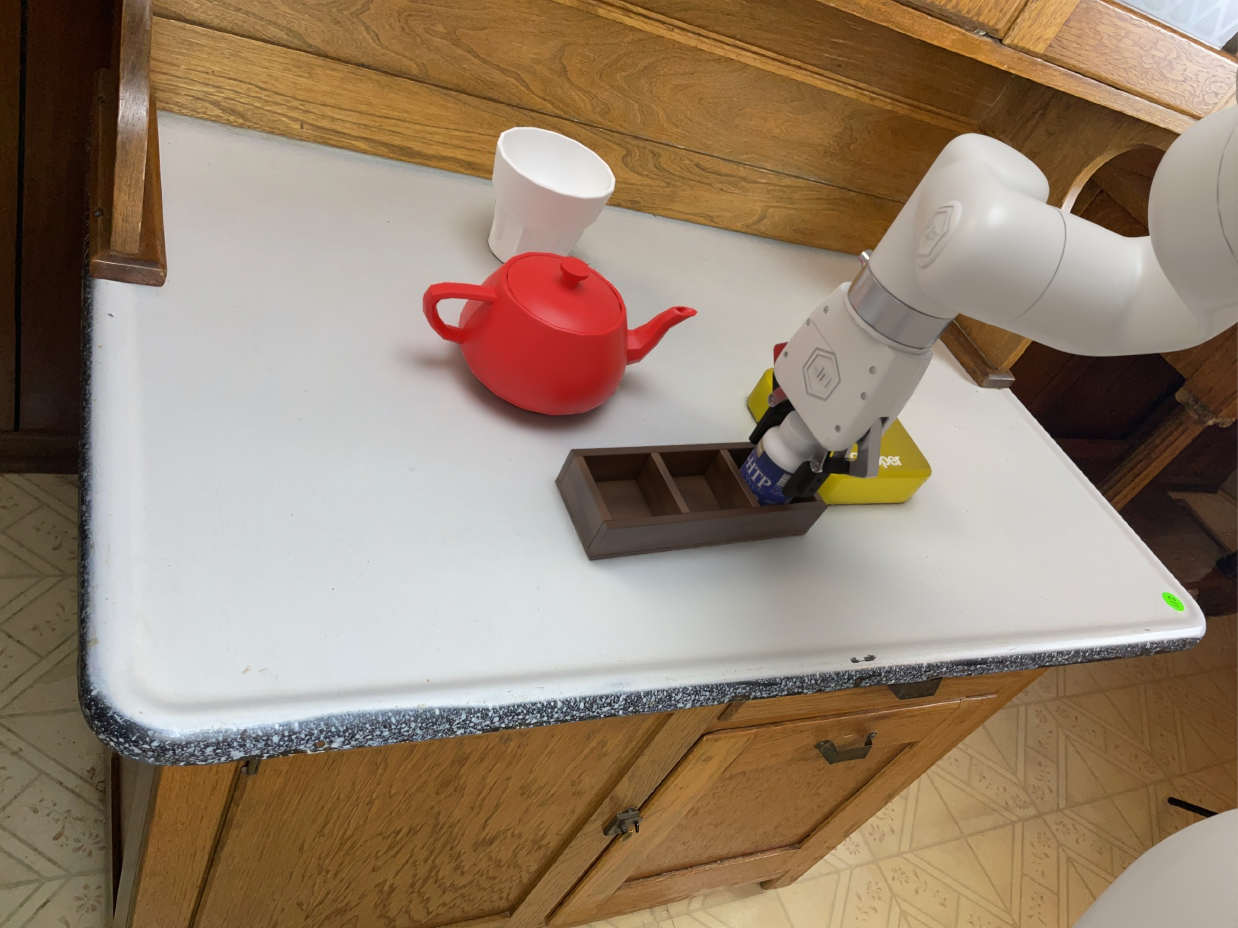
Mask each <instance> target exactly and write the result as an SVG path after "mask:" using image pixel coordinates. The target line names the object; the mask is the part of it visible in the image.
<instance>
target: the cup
mask: <svg viewBox="0 0 1238 928" xmlns="http://www.w3.org/2000/svg"><path fill="white" fill-rule="evenodd" d="M493 162H494V163H493V171H492V177H491V182H492V186H493V188H494V193H495V205H494V213H493V221H492V225H491V229H490V232H489V235H488V239H487V242H488V247H489V249H490V251H491V252H492V254H494V255H495V257H496V258H497V259H498V260H499V261H500V262H501V263H503V264H504V263H505V262H506V261H508V260H509V259H510V258H511V257H513V256H517V255H520V254H523V253H527V252H545V253H554V254H557V255H561V256H564V257H569V256H570V254H571V252H572V251H573V250H574V247H575V246H576V245H577V243H578V242H579V240H580V239H581V237H582V236H583V234H584V232H585V231H586V230H587V229H588V228H589V227H590V226H592V225H593V224H594V223H596V221H597V220H598V218H599V216H600V215H601V213H602V211H603V210H604V208H605V207H606V205H607V204H608V201H609V200H610V198H611V196H612V195H613V193H614V191H615V186H616V177H615V175H614V173H613V171H612V169H611V167H610V165H609V164H608V163H606V161H604V160H603V159H602V158H601V157H600V156H599V155H598V154H597V153H596V152H594V151H593V150H592V149H590V148H588V147H586V146H585V145H583V144H582V143H581V142H579V141H577V140H575V139H573V138H570V137H567V136H566V135H563V134H561V133H558V132H555V131H552V130H549V129H548V130H547V129H543V128H539V127H534V126H515V127H511V128H510V129H507V130H505V131H502V132H501V133H500V136H499V138H498V139H497V142H496V149H495V155H494V161H493Z"/></svg>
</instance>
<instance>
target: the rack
mask: <svg viewBox="0 0 1238 928" xmlns="http://www.w3.org/2000/svg"><path fill="white" fill-rule="evenodd" d="M756 446H757V445H754V444H751V442H750V441H734V442H733V441H731V442H709V443H684V444H664V445H662V444H661V445H639V446H638V445H637V446H636V445H635V446H614V447H592V448H590V447H589V448H571V449H570V450H569V452H568V454H567V456H566V458H565V460H564V462H563V464H562V466H561V468H560V470H559V473H558V474H557V477H556V478H555V480H554V481H555V482H554V483H555V484H556V487H557V489H558V492H559V493H560V496H561V498H562V500H563V503H564V505H565V508H566V510H567V513H568V514H569V516H570V519H571V521H572V523H573V526H574V528H575V531H576V533H577V535H578V537H579V540H580V542H581V544H582V547H583V548H584V549H583V550H584V551H585V554H586V556H587V558H588V560H589V561H594V560H603V559H610V558H619V557H628V556H636V555H643V554H653V553H661V552H670V551H678V550H688V549H695V548H703V547H712V546H720V545H727V544H737V543H743V542H752V541H761V540H770V539H778V538H786V537H793V536H794V537H796V536H802V535H806V534H808V531H809V530H810V529H811V528H812V527H814V524H815V523H816V522H817V521H818V520H819V519H820V518H821V516H822V515H823V514H824V513H825V512H826V510H827V509H828V508H829V506H828V504H826V503H825V502H824V501H823V499H822V497H821V496H820V494H819V493H818V491H817V492H816V493H815V494H813V495H812V496H809V497H802V496H799V497H793V498H792V499H791V501H790V502H789V503H788V504H783V505H773V506H762V507H760V504H759V503H758V501H757V499H756V498H755V496H754V494H753V493H752V491H751V489H750V488H749V486H748V484H747V483H746V481H745V479H744V477H743V476H742V474H741V472H740V471H739V470H740V468H741V467H742V465H743V464H744V463H745V461H746V460H747V458H748V457H749V456H750V454H751V453H752V451H753V450H754V449H755V447H756Z"/></svg>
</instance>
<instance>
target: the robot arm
mask: <svg viewBox="0 0 1238 928" xmlns="http://www.w3.org/2000/svg"><path fill="white" fill-rule="evenodd" d="M1235 101H1236V104H1233V105H1232V106H1228V107H1225V108H1223V109H1220V110H1217V111H1214V112H1212V113H1209V114H1208V115H1206V116H1204V117H1202V118H1201V119H1199V120H1196V122H1194V123H1192V124H1191V125H1190V126H1188V127H1187V129H1185V130H1184V131H1183V132H1182V133H1181V134H1180V135H1179V136H1178V137H1177V138H1176V139H1175V140H1174V141H1173V142H1172V143H1171V144H1170V146H1169V147H1168V149H1167V150H1166V151H1165V153H1164V154H1163V156H1162V158H1161V161H1160V162H1159V164H1158V166H1157V168H1156V170H1155V174H1154V175H1153V179H1152V181H1151V185H1150V191H1149V197H1148V206H1147V220H1148V221H1147V225H1148V233H1149V235H1147V236H1138V237H1135V236H1134V237H1128V236H1124V235H1121V234H1119V233H1116V232H1114V231H1111V230H1110V229H1107V228H1105V227H1103V226H1101V225H1099V224H1097V223H1094V222H1092V221H1090V220H1087V219H1085V218H1082V217H1080V216H1078V215H1076V214H1074V213H1071V212H1068V211H1066V210H1064V209H1061V208H1059V207H1056V206H1054V205H1051V204H1047V202H1048V198H1049V195H1050V186H1049V182H1048V179H1047V176H1045V174H1044V173H1043V172H1042V171H1041V168H1039V167H1038V165H1036V164H1035V163H1034V162H1033V161H1032V160H1030V159H1029V158H1028V157H1027V156H1025V154H1023V153H1021V152H1020V151H1018V150H1017V149H1015V148H1013V147H1012V146H1010V145H1008V144H1006V143H1005V142H1003V141H1000V140H999V139H996V138H994V137H991V136H989V135H984V134H980V133H975V132H969V133H963V134H961V135H958V136H956V137H955V138H953V139H952V140H950V141H949V142H948V143H947V145H945V146H944V148H943V149H942V151H941V152H939V154H938V156H937V157H936V158H935V160H934V162H933V163H932V165H931V166H930V168H929V169H928V171H927V172H926V173H925V174H924V176H923V178H922V179H921V181H920V182H919V184H918V185H917V186H916V188H915V189H914V191H913V192H912V194H911V195H910V197H909V198H908V200H907V201H906V203H905V204H904V206H903V207H902V208H901V210H900V211H899V213H898V214H897V216H896V217H895V219H894V220H893V221H892V223H891V225H890V226H889V228H888V229H887V231H886V232H885V233H884V235H883V236H882V238H881V240H880V241H879V242H878V243H877V245H876V247H875V248H874V250H872V249H865V250H863V251H862V252H861V253H860V254H859V256H858V257H857V263H858V264H859V266H860V271H858V273H857V275H856V276H855V277H854V279H853V281H843V282H842V283H840V284H839V285H838V286H837V287H836V288H835V289H833V290H832V292H831V293H829V294H828V295H827V296H826V297H825V298H824V299H823V300H822V301H821V302H820V303H819V304H818V305H817V306H816V307H815V308H814V309H813V311H812V312H811V313H810V314H809V315H808V316H807V317H806V318H805V320H804V321H803V322H802V324H801V325H800V326H799V327H798V328H797V330H796V331H795V332H794V334H793V336H791V338H790V339H789V341H785V342H779V343H776V344H774V346H773V347H772V353H773V354H772V355H773V368H774V371H773V375H772V393H771V394H769V396H768V399H767V401H768V405H769V408H768V409H767V410H766V412H765V413H764V415H763V416H762V418H761V419H760V421H759V422H758V423H756V426H755V428H754V429H753V430H752V432H751V433H750V435H749V436H748V440H749V442H751V444H754V445H757V444H758V443H759V441H760V440H761V439H762V437H763V436H764V434H765V433H766V432H767V431H768V430H769V429H770V428H772V427H774V426H778V425H781V424H782V422H783V421H784V419H785V418H786V417H787V415H788V414H789V413H790V412H792V411H795V410H796V411H797V412H798V414H799V415H800V417H801V418H802V420H803V421H804V423H805V424H806V425H807V427H808V428H809V430H810V431H811V433H812V434H813V436H814V437H815V438H816V440H817V441H818V444H817V447H816V449H815V452H814V455H813V457H812V460H811V461H804V462H802V463H801V465H800V466H799V467H798V469H797V470H796V471H795V473H794V474H793V475H792V476H791V478H790V479H789V480H788V482H787V483H786V484H785V486H784V487H783V488H782V494H783V495H784V497H785V498H788V497H799V496H802V497H809V496H812V495H813V494H815V493H816V492H817V491H818V489H819V488H820V487H821V486H822V484H823V483H824V482H825V481H826V479H827V478H828V477H829V476H830V474H845V475H848V476H853V477H858V478H875V477H877V475H878V472H879V460H880V447H881V437H882V436H883V435H884V433H885V432H886V431H887V430H888V428H889V427H890V426H891V425H892V423H893V422H894V421H895V419H896V418H898V417H899V416H900V414H901V412H902V411H903V410H904V408H905V406H906V405H907V404H908V402H909V401H910V399H911V397H912V396H913V394H914V393H915V391H916V390H917V388H918V386H919V384H920V382H921V381H922V379H923V377H924V375H925V374H926V371H927V370H928V368H929V366H930V364H931V361H932V359H933V357H934V353H933V350H932V347H934V345H935V344H936V342H937V341H938V340H939V339H940V337H942V335H943V334H944V333H945V331H946V330H947V329H948V328H949V326H950V325H951V324H952V323H953V321H954V320H955V319H956V318H957V317H958V315H963V316H965V317H968V318H971V319H973V320H976V321H979V322H980V323H981V322H982V323H984V324H987V325H990V326H995V327H997V328H1000V329H1003V330H1005V331H1008V332H1011V333H1013V334H1016V335H1018V336H1021V337H1024V338H1026V339H1028V340H1032V341H1034V342H1037V343H1039V344H1042V345H1044V346H1047V347H1050V348H1052V349H1055V350H1057V351H1061V352H1065V353H1068V354H1074V355H1078V356H1079V355H1080V356H1089V357H1118V356H1119V357H1120V356H1133V355H1148V354H1160V353H1170V352H1177V351H1183V350H1187V349H1191V348H1194V347H1197V346H1199V345H1202V344H1203V343H1206V342H1207V341H1209V340H1212V339H1213V338H1215V337H1217V336H1218V335H1220V334H1221V333H1223V332H1225V331H1226V330H1228V329H1229V328H1231V327H1232V326H1234V325H1236V323H1237V324H1238V68H1237V69H1236V73H1235ZM854 443H856V444H857V445H858V450H857V458H856V459H855V458H848V457H849V455H850V452H851V450H852V447H853V445H854ZM832 451H834V453H833V455H832V457H830V454H831V452H832ZM1070 928H1238V807H1236V808H1233V809H1230V810H1226V811H1222V812H1221V813H1217V814H1215V815H1212V816H1209V817H1207V818H1204V819H1203V820H1200V821H1197V822H1194V823H1192V824H1190V825H1188V826H1186V827H1185V828H1182V829H1181V830H1178V831H1177V832H1174V833H1173V834H1171V835H1169V836H1167V837H1166V838H1164V839H1162V840H1161V841H1159V842H1158V843H1156V844H1155V845H1154V846H1152V847H1151V848H1149V849H1147V850H1146V851H1145V852H1144V853H1142V854H1141V855H1140V856H1139V857H1138V858H1137V859H1135V860H1134V861H1132V863H1131V864H1130V865H1129V866H1128V867H1126V868H1125V870H1124V871H1123V872H1122V873H1121V874H1120V875H1119V876H1117V878H1116V879H1114V881H1112V883H1111V884H1109V886H1108V887H1107V888H1106V889H1105V890H1104V891H1103V892H1102V893H1101V894H1100V895H1099V896H1098V897H1097V898H1096V900H1094V902H1093V903H1092V904H1091V905H1090V906H1089V907H1088V908H1087V909H1086V910H1085V911H1084V912H1083V914H1082V915H1081V916H1080V917H1079V918H1078V919H1077V920H1076V921H1075V923H1073V925H1072V926H1071V927H1070Z"/></svg>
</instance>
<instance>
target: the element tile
mask: <svg viewBox="0 0 1238 928" xmlns="http://www.w3.org/2000/svg"><path fill="white" fill-rule="evenodd" d="M773 371H774V367H769V368H767V369H766V370H765V371H764V373H763V374H762V375H761V377H760V378H759V380H758V381H757V384H755V386H754V388H753V390H752V391H751V393H750V394H749V396H748V397H747V405H748V409H749V411H750V412H751V414H752V416H753V418H754V419H755V421H756V424H758V422H759V421H760V419H761V418H762V416H763V415H764V413H765V412H766V410H767V409H768V408H769V405H768V401H767V399H768V396H769V394H771V393H772V375H773ZM857 450H858V445H857V444H856V443H854V445H853V447H852V450H851V452H850V455H849V457H848V458H855V459H856V458H857ZM833 453H834V451H832V452H831V454H830V457H832V455H833ZM932 472H933V470H932V467H931V464H930V463H929V461H928V460H927V458H926V457H925V455H924V454H923V452H922V451H921V450H920V448H919V447H918V445H917V444H916V442H915V441H914V440H913V438H912V437H911V435H910V434H909V432H908V431H907V430H906V427H905V426H904V424H902V422H901V421H900V419H899V418H898V417H897V418H896V419H895V421H894V422H893V423H892V425H891V426H890V427H889V428H888V430H887V431H886V432H885V433H884V435H883V436H882V437H881V447H880V460H879V472H878V475H877V477H875V478H858V477H853V476H848V475H845V474H830V476H829V477H828V478H827V479H826V481H825V482H824V483H823V484H822V486H821V487H820V488H819V489H818V493H819V494H820V496H821V497H822V499H823V501H824V502H825V503H826V505H851V504H852V505H855V504H858V505H859V504H900V503H905V502H907V501H908V500H910V499H911V498H912V496H914V495H915V494H916V493H917V491H918V490H920V488H921V487H922V486H923V485H925V483H926V482H927V480H929V479H930V477H932Z"/></svg>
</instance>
